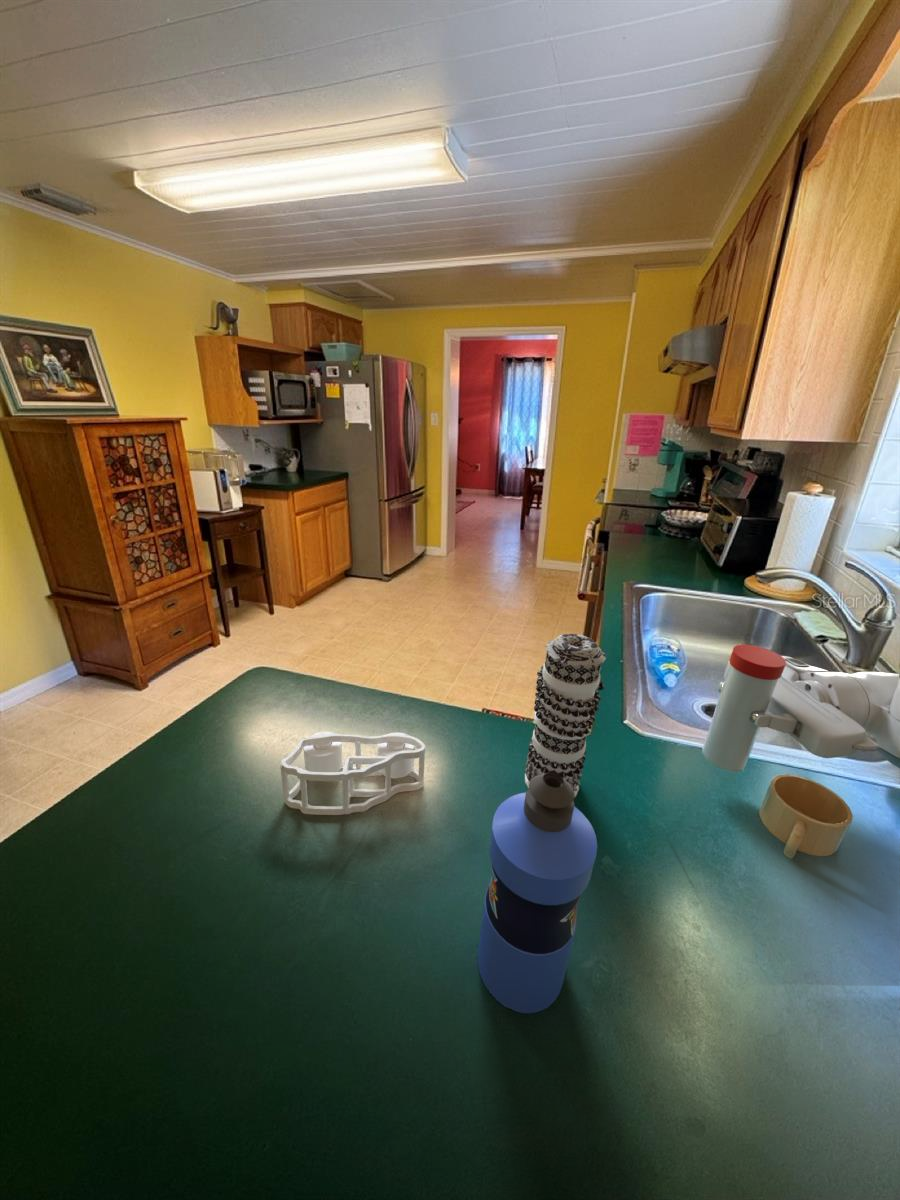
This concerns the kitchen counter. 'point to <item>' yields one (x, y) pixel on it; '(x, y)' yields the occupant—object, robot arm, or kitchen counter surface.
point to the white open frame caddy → (352, 769)
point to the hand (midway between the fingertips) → (736, 703)
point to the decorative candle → (565, 708)
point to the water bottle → (534, 893)
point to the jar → (741, 705)
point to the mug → (805, 815)
